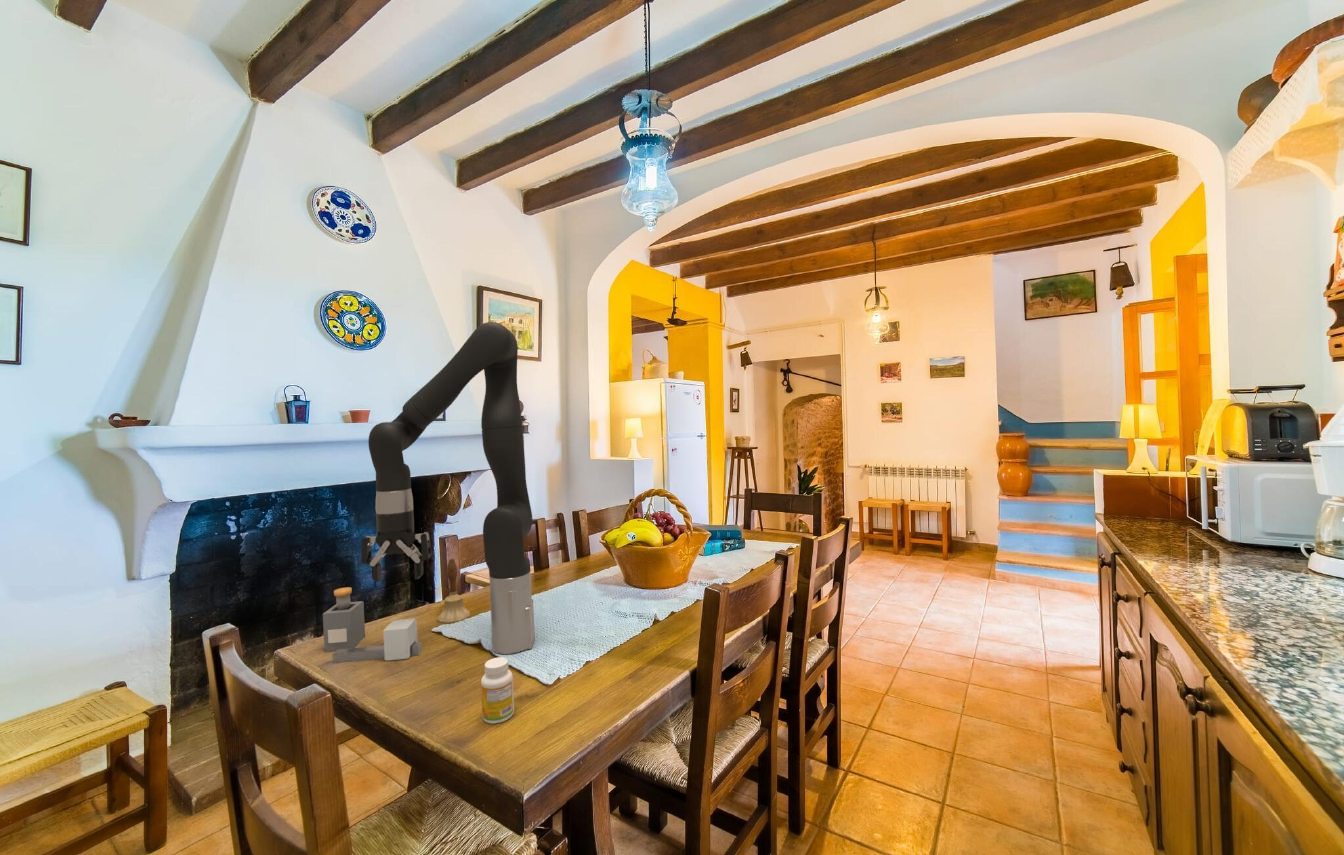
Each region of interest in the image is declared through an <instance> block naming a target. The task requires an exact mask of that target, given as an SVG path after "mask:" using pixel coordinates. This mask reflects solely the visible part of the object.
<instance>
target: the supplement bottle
mask: <svg viewBox="0 0 1344 855" xmlns="http://www.w3.org/2000/svg"><path fill="white" fill-rule="evenodd" d="M480 688H481V710H482V711H481V712H482V713H481V714H482V720H483V721H484V723H485V722H486V723H488V724H495V725H496V724H499V723H503V722H507V720H509V719H511V717H512V716H514V712H515V702H514V701H515V699H514V678H513V673H512V671H511V670H510V669H509V660H508V658H506V657H501V656H500V657H499V656H498V657H494V658H493V657H492V658H491V659H488V660H487V661H485V663H484V675H482V677H481V680H480Z"/></svg>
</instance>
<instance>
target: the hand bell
mask: <svg viewBox="0 0 1344 855" xmlns="http://www.w3.org/2000/svg"><path fill="white" fill-rule="evenodd" d="M446 575H447V578H448V581H449V595H448V596H446V597H445V598H444V604H443V608H442V611H441V613H440V614H439V615H438V616H437V622H439V623H443V624H451V623H452V624H453V623H457V622H461V621H465V620H466V619H468V618H470V616H471V612H470V610H468V609H467V608H466V606H465V604H464V600H463V596H462V595H460V594H458V592H457V589H458V588H457V577H458V566H457V563H456V561H455V558H449V559H448V564H447V567H446Z"/></svg>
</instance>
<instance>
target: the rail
mask: <svg viewBox="0 0 1344 855" xmlns="http://www.w3.org/2000/svg"><path fill="white" fill-rule="evenodd" d="M422 644H423V643H422V641H417V642H414V643H413V644H412V645H411V646H410V657H413V656H419V655H420V654H421V652H422V651H423V647H422V646H423V645H422ZM380 659H381V660H382V659H385V655H384V644H382V645H371V646H361V647H354V648H348V649H338V650H337V651H334V653H332V661H333V662H332V663H333V664H335V663H336V664H337V663H338V664H339V663H346V662H347V663H349V662H358V661H359V662H360V661H368V660H380Z"/></svg>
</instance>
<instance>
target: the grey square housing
mask: <svg viewBox="0 0 1344 855" xmlns="http://www.w3.org/2000/svg"><path fill="white" fill-rule="evenodd" d="M364 604H365V603H364V601H363V600H361V601H350V606H351V608H350V609H349V610H338V611H337V603H336V604H334V605H333V606H331V607H330V608H329V609H328V610H326V611H325V612H323V613H322V625H323V628H322V629H323V643H324V644H323V645H324V647H323V648H324V653H326V652H336V651H337V650H338V649H348V648H356V646H357V645H358V644H360V642H361V641H362V640H364V638H366V624H365V605H364Z"/></svg>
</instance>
